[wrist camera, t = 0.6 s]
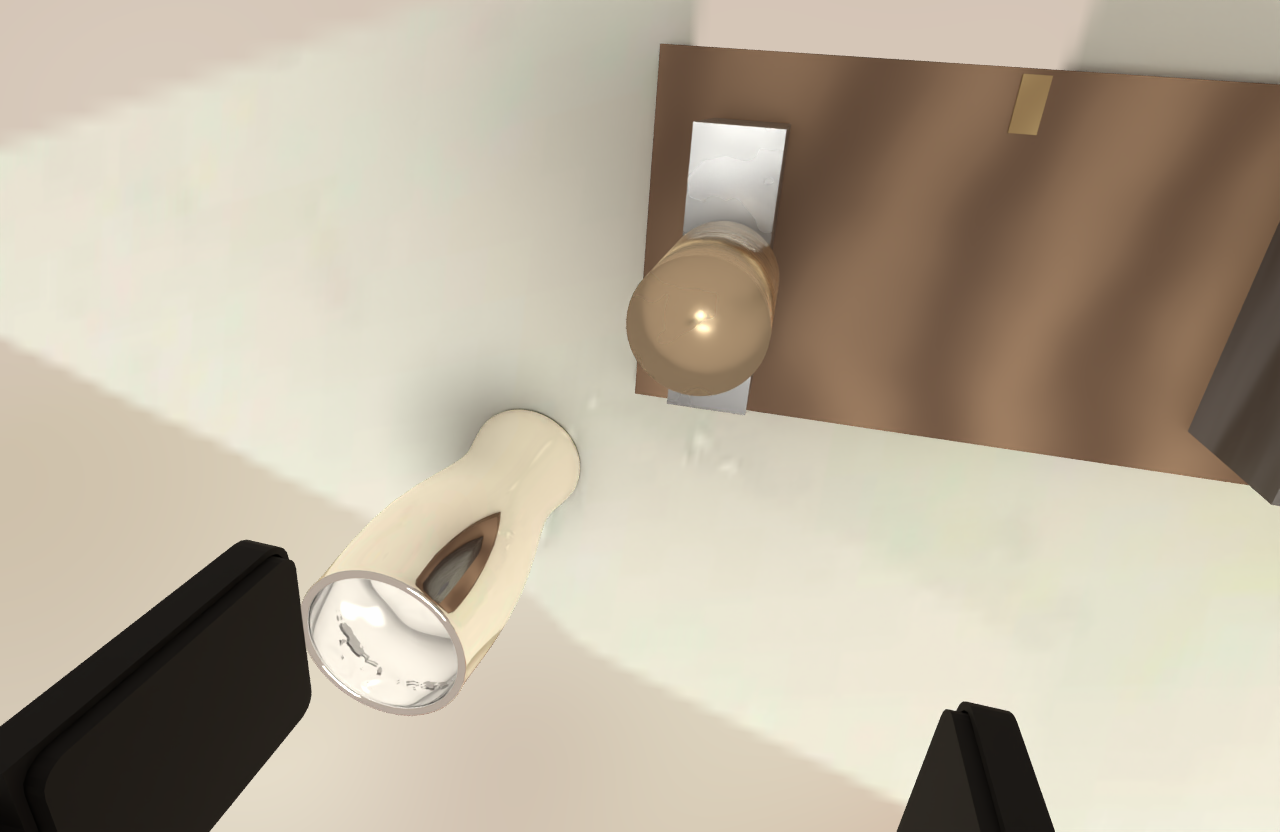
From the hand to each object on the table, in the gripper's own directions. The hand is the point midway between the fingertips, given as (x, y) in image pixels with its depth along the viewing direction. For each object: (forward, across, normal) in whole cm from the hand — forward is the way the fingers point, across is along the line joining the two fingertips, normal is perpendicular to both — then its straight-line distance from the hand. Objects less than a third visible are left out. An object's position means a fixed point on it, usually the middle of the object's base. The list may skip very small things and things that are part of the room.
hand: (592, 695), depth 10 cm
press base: (+25, -10, -2) cm, 27 cm away
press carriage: (+23, 0, -2) cm, 24 cm away
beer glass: (+26, +10, +11) cm, 30 cm away
